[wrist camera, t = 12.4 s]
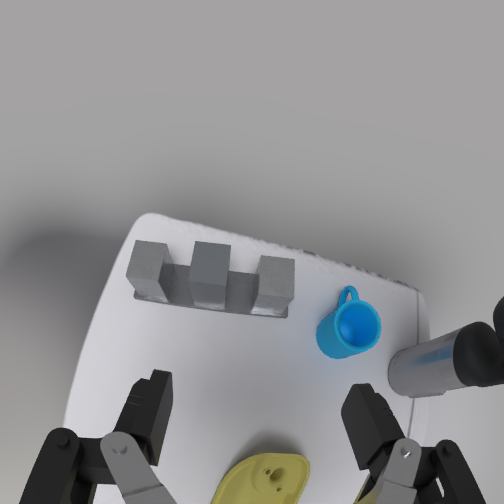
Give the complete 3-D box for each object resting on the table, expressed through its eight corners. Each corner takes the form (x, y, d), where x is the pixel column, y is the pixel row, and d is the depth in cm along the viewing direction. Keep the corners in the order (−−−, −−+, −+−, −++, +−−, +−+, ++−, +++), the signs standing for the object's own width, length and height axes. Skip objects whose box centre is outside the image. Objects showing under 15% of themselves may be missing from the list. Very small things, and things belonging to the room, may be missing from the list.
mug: (357, 359, 44) (381, 352, 36) (314, 357, 43) (333, 350, 36) (358, 297, 49) (379, 280, 42) (318, 291, 49) (334, 273, 42)
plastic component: (273, 544, 24) (219, 548, 21) (251, 524, 30) (201, 523, 27) (318, 455, 32) (266, 451, 29) (289, 441, 38) (240, 434, 35)
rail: (287, 280, 49) (300, 257, 41) (286, 318, 46) (300, 301, 38) (144, 262, 48) (131, 236, 40) (135, 299, 44) (118, 278, 36)
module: (228, 272, 47) (231, 243, 39) (224, 307, 44) (226, 285, 36) (199, 269, 47) (195, 239, 38) (193, 303, 44) (187, 280, 35)
